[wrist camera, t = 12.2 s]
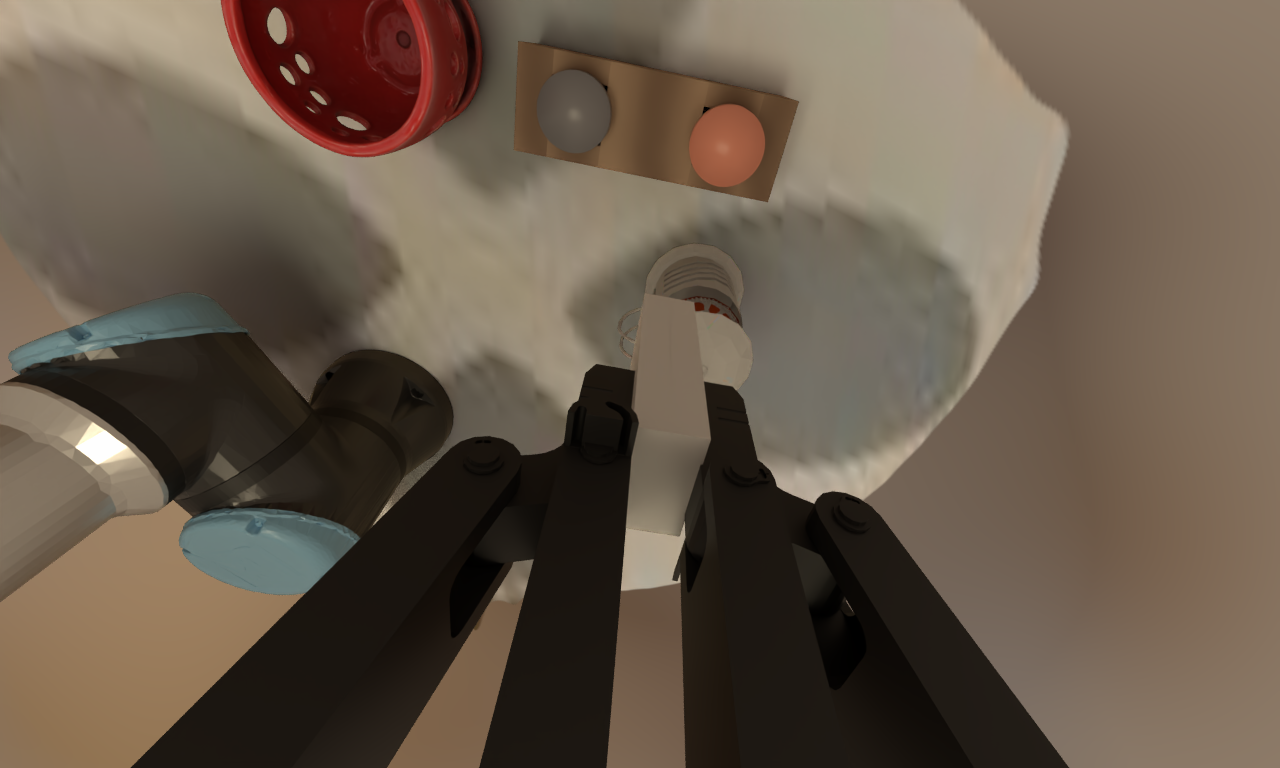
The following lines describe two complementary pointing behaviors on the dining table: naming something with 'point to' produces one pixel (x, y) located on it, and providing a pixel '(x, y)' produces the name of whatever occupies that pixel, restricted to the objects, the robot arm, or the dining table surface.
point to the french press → (706, 308)
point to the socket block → (648, 118)
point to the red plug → (726, 145)
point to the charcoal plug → (574, 111)
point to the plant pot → (361, 67)
